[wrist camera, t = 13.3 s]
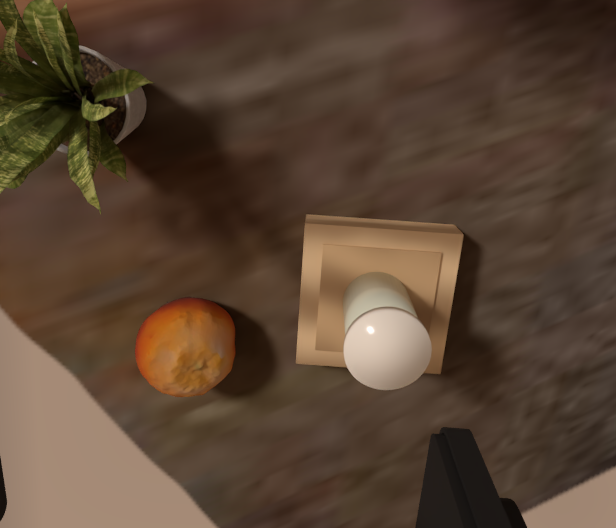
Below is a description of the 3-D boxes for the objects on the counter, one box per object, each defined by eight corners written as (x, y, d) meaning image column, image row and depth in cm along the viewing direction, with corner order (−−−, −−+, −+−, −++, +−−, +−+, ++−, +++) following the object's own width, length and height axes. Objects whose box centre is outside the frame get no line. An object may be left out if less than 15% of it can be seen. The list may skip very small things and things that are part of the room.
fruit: (129, 277, 43) (153, 324, 37) (220, 278, 47) (254, 320, 41) (119, 361, 46) (139, 419, 39) (205, 356, 50) (236, 406, 43)
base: (306, 214, 42) (304, 224, 39) (454, 224, 42) (464, 235, 39) (297, 346, 46) (295, 365, 43) (433, 356, 46) (441, 375, 43)
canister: (343, 266, 40) (347, 308, 32) (415, 271, 40) (437, 314, 32) (337, 332, 42) (340, 387, 34) (406, 337, 42) (425, 392, 34)
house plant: (-5, -21, 38) (-237, -98, 22) (186, -24, 37) (86, -104, 22) (30, 177, 42) (-141, 229, 27) (200, 177, 42) (127, 230, 26)
